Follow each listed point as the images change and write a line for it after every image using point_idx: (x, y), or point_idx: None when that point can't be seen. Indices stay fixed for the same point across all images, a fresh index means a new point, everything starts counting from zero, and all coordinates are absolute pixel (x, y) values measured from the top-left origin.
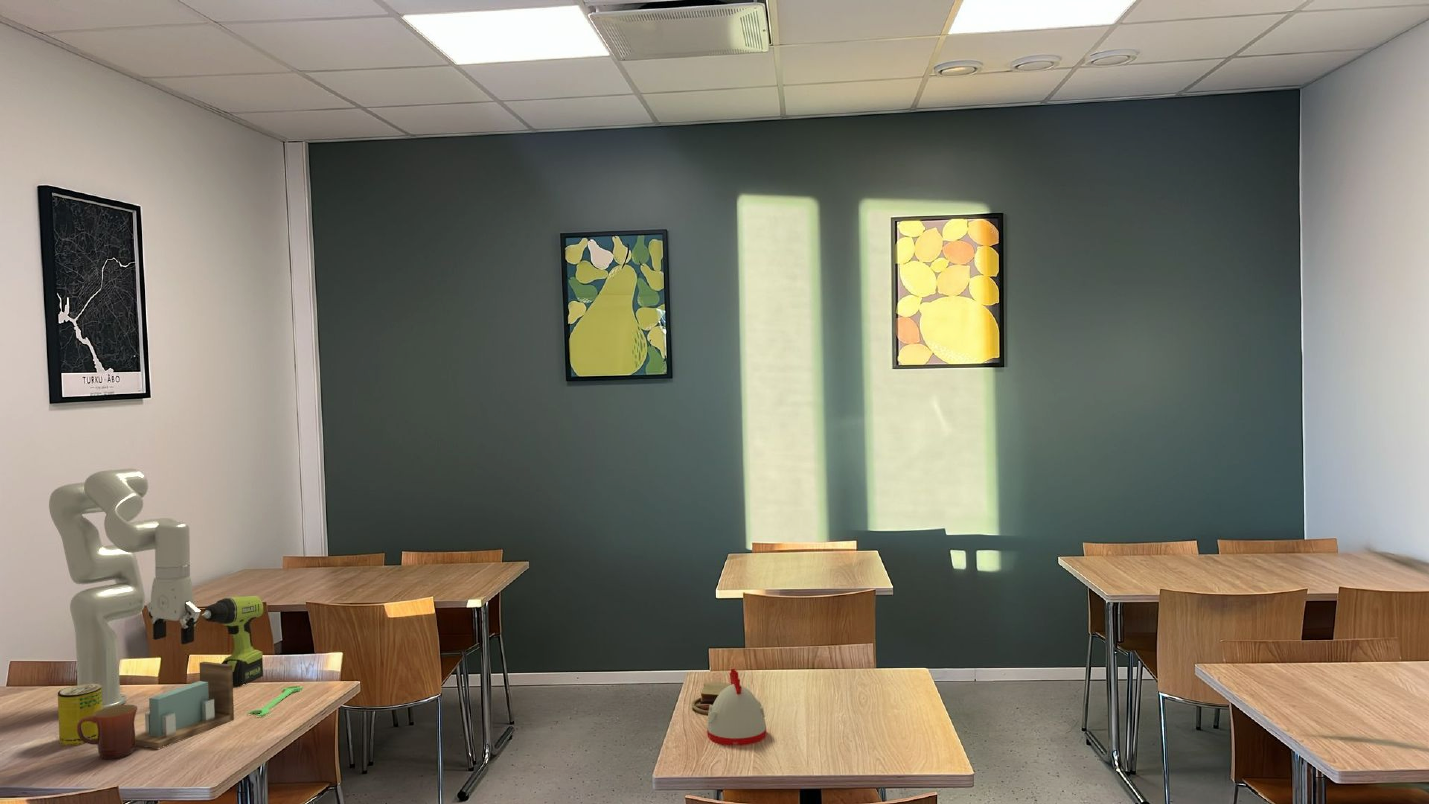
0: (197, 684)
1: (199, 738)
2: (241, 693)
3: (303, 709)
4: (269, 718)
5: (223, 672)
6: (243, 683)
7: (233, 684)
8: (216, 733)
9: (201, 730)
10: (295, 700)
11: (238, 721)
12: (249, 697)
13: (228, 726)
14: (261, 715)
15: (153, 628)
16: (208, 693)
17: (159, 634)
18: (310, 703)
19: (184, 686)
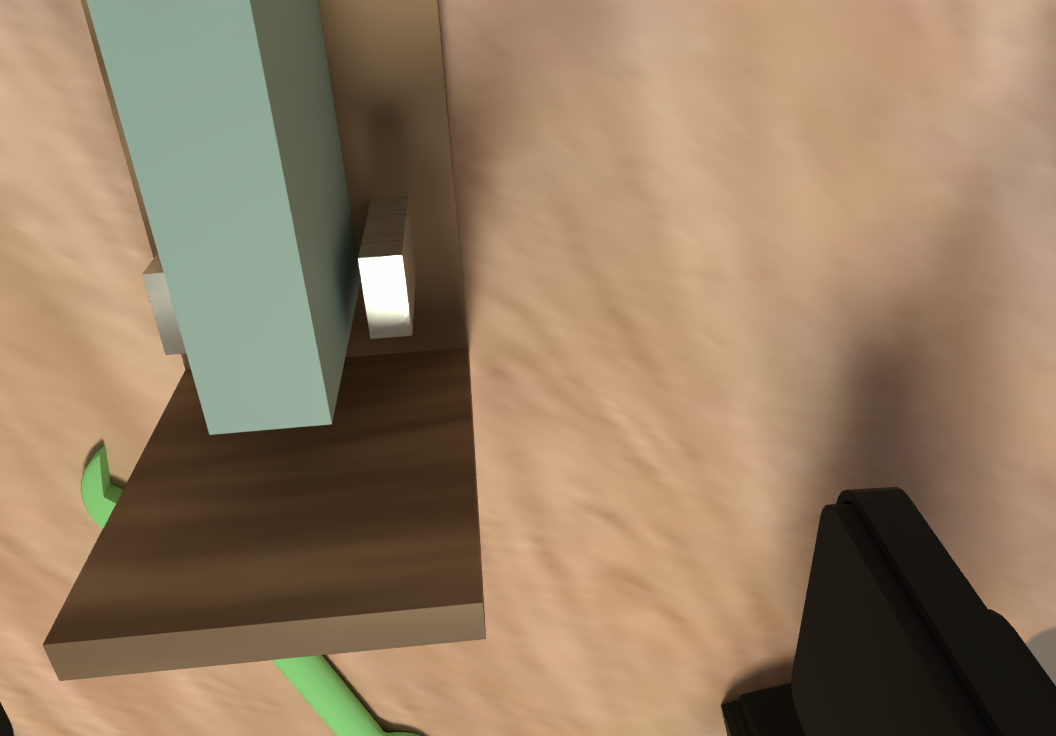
0: (228, 350)
1: (4, 20)
2: (619, 647)
3: (9, 629)
4: (18, 474)
5: (141, 582)
6: (725, 722)
7: (767, 698)
8: (11, 152)
9: None
10: (215, 689)
11: (141, 368)
12: (513, 629)
13: (96, 281)
14: (84, 475)
15: (1042, 714)
16: (380, 429)
17: (850, 647)
18: (84, 692)
19: (282, 253)
